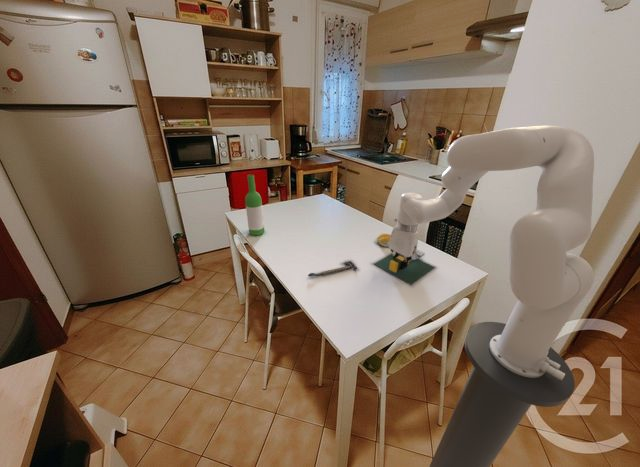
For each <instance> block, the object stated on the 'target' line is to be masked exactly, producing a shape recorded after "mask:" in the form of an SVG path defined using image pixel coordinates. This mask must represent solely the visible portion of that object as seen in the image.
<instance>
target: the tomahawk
mask: <svg viewBox="0 0 640 467" xmlns="http://www.w3.org/2000/svg"><path fill="white" fill-rule="evenodd" d="M342 264H343V265H346V266H343V267H337V268H333V269H329V270H325V271H321V272H318V273H314V272H310V273H309V274H307V276H308V277H320V276H326V275H330V274H335V273H339V272H343V271H346V270H350V269H353V270H358V266H356V265H355V264H354V263H353V262H352V261H351V260H348V261H345V262H344V263H342Z"/></svg>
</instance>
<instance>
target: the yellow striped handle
mask: <svg viewBox="0 0 640 467" xmlns="http://www.w3.org/2000/svg"><path fill="white" fill-rule="evenodd" d="M416 253H417V256H418V259H421V258H423V257H424V256H425V252H423V251H421V250H419V249H417V250H416ZM411 256H413V255H411ZM403 260H404V255H399V256H398V257H396V258H394V259H392V260H391V261H390V266H389V270H391V271H393V272H397V271H399V270H400V269H401V264H402V261H403ZM410 261H411V260H409V261H408V264H409V262H410Z"/></svg>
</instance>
